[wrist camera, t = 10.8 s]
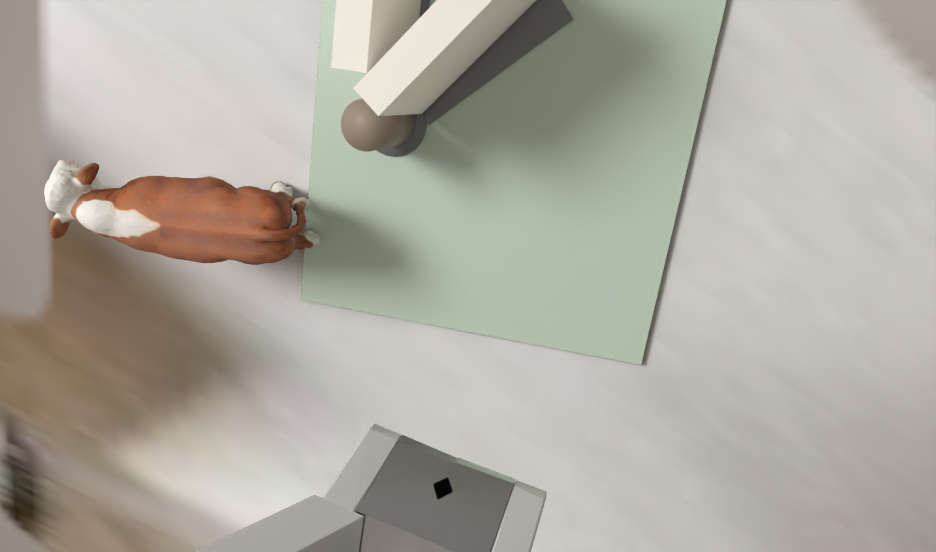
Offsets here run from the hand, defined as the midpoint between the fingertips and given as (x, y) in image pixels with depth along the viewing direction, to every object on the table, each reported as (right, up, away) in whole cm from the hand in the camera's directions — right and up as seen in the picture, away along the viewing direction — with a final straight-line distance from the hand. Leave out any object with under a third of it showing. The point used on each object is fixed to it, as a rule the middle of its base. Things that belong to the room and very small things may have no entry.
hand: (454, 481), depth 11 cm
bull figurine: (-13, +8, +27) cm, 31 cm away
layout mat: (+2, +10, +24) cm, 26 cm away
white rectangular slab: (+1, +15, +22) cm, 27 cm away
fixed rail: (-3, +15, +23) cm, 28 cm away
